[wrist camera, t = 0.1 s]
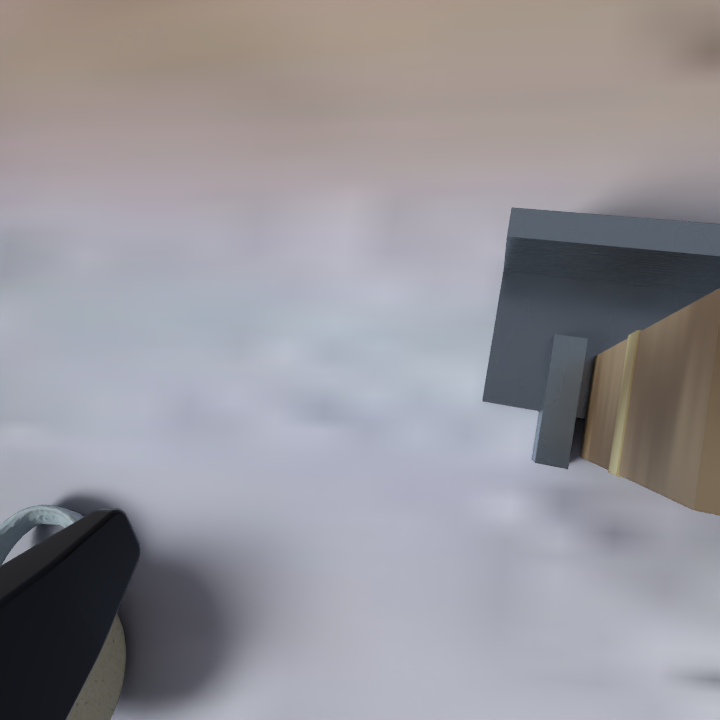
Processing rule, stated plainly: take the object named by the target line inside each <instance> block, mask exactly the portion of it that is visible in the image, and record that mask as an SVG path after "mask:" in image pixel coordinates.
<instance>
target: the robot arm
mask: <svg viewBox="0 0 720 720" xmlns="http://www.w3.org/2000/svg"><path fill="white" fill-rule="evenodd" d="M139 557H140V544H139V541H138V539H137V537H136V535H135V533H134V531H133V528H132V526H131V524H130V522H129V520H128V517H127V515H126V514H125V512H123V511H122V510H120V509H97V510H95V511H93V512H91V513H89V514H88V515H86V516H84V517H83V518H81V519H79V520H78V521H76V522H74V523H73V524H71V525H69V526H67V527H66V528H64V529H62V530H61V531H59V532H57V533H56V534H54V535H52V536H51V537H49V538H47V539H46V540H44V541H42V542H40V543H39V544H37V545H35V546H34V547H32V548H30V549H29V550H27V551H25V552H24V553H22V554H20V555H18V556H17V557H15V558H13V559H12V560H10V561H8V562H7V563H5V564H3V565H2V566H0V720H66V719H67V717H68V715H69V713H70V712H71V710H72V708H73V706H74V704H75V702H76V700H77V698H78V696H79V694H80V692H81V690H82V688H83V686H84V684H85V682H86V680H87V678H88V676H89V674H90V672H91V671H92V669H93V667H94V665H95V663H96V661H97V658H98V656H99V654H100V652H101V650H102V648H103V646H104V643H105V641H106V639H107V636H108V634H109V632H110V629H111V627H112V624H113V622H114V619H115V617H116V615H117V612H118V610H119V607H120V605H121V602H122V600H123V597H124V595H125V592H126V590H127V588H128V585H129V583H130V580H131V578H132V575H133V573H134V570H135V568H136V565H137V563H138V560H139Z"/></svg>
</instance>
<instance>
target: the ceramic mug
mask: <svg viewBox="0 0 720 720" xmlns="http://www.w3.org/2000/svg"><path fill="white" fill-rule="evenodd" d="M83 517H84V516H82V515H81V514H80V513H77V512H74V511H71V510H68V509H66V508H62V507H58V506H54V505H38V506H33V507H28V508H26V509H23V510H21V511H19V512H17V513H15V514H14V515H12V516H11V517H9V518H8V519H7V520H6V521H5V522H3V523H2V524H1V525H0V566H2V563H3V561H4V560H5V558H6V556H7V555H8V554H9V552H10V551H11V549H12V548H13V547H14V545H15V544H16V543H17V542H18V541H19V540H20V539H21V538H22V536H23V535H25V534H26V533H27V532H28V531H30V530H31V529H32V528H33V527H35V526H39V525H41V524H53V525H62V526H63V527H64V528H66V527H67V526H69V525H71V524H73V523H74V522H76V521H78V520H79V519H81V518H83ZM125 664H126V644H125V637H124V630H123V627H122V624H121V622H120V619H119V616H118V614H117V615H116V617H115V619H114V622H113V624H112V627H111V629H110V632H109V634H108V636H107V639H106V641H105V643H104V646H103V648H102V650H101V652H100V654H99V656H98V658H97V661H96V663H95V665H94V667H93V669H92V671H91V672H90V674H89V676H88V678H87V680H86V682H85V684H84V686H83V688H82V690H81V692H80V694H79V696H78V698H77V700H76V702H75V704H74V706H73V708H72V710H71V712H70V713H69V715H68V717H67V719H66V720H110V719H111V717H112V715H113V713H114V710H115V708H116V705H117V702H118V699H119V696H120V692H121V689H122V685H123V680H124V673H125Z"/></svg>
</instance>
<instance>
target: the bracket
mask: <svg viewBox="0 0 720 720" xmlns="http://www.w3.org/2000/svg"><path fill="white" fill-rule="evenodd" d="M719 288H720V224H711V223H699V222H686V221H674V220H661V219H649V218H636V217H624V216H611V215H598V214H586V213H573V212H561V211H548V210H536V209H523V208H512V209H511V215H510V222H509V228H508V234H507V242H506V252H505V262H504V272H503V278H502V284H501V290H500V297H499V303H498V309H497V315H496V321H495V327H494V333H493V340H492V346H491V352H490V358H489V364H488V370H487V376H486V382H485V389H484V395H483V401H484V402H490V403H496V404H501V405H507V406H513V407H519V408H525V409H530V410H536V411H539V416H538V423H537V429H536V435H535V442H534V448H533V454H532V460H533V461H534V462H535V463H539V464H544V465H549V466H555V467H560V468H565V469H568V466H569V459H570V453H571V446H572V439H573V433H574V426H575V420H576V417H577V418H583V419H585V415H586V408H587V402H588V395H589V389H590V382H591V375H592V369H593V362H594V357H595V356H596V355H598V354H600V353H602V352H604V351H605V350H607V349H609V348H611V347H613V346H615V345H616V344H618V343H620V342H622V341H624V340H626V339H627V338H628V335H630V334H631V333H633V332H635V331H637V330H641V331H642V330H644V329H646V328H648V327H649V326H651V325H653V324H655V323H657V322H659V321H660V320H662V319H664V318H666V317H668V316H670V315H671V314H673V313H675V312H677V311H679V310H681V309H682V308H684V307H686V306H688V305H690V304H692V303H693V302H695V301H697V300H699V299H701V298H702V297H704V296H706V295H708V294H710V293H712V292H713V291H715V290H717V289H719Z"/></svg>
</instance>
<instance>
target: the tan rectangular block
mask: <svg viewBox="0 0 720 720" xmlns="http://www.w3.org/2000/svg"><path fill="white" fill-rule="evenodd" d="M579 456H580V457H582V458H584V459H586V460H588V461H590V462H592V463H595V464H597V465H599V466H601V467H603V468H605V469H607V470H608V472H609V473H611V474H613V475H615V476H618V477H623V478H626V479H629V480H631V481H633V482H635V483H637V484H639V485H641V486H643V487H646V488H648V489H650V490H652V491H654V492H656V493H658V494H660V495H663V496H665V497H667V498H669V499H671V500H673V501H675V502H677V503H680V504H682V505H684V506H686V507H688V508H690V509H692V510H695V511H700V512H705V513H710V514H715V515H720V288H719V289H717V290H715V291H713V292H712V293H710V294H708V295H706V296H704V297H702V298H701V299H699V300H697V301H695V302H693V303H692V304H690V305H688V306H686V307H684V308H682V309H681V310H679V311H677V312H675V313H673V314H671V315H670V316H668V317H666V318H664V319H662V320H660V321H659V322H657V323H655V324H653V325H651V326H649V327H648V328H646V329H644V330H642V331H641V330H637V331H635V332H633V333H631V334H630V335H628V338H627V339H626V340H624V341H622V342H620V343H618V344H616V345H615V346H613V347H611V348H609V349H607V350H605V351H604V352H602V353H600V354H598V355H596V356H595V357H594V362H593V369H592V375H591V382H590V389H589V395H588V402H587V408H586V415H585V422H584V428H583V435H582V441H581V448H580V455H579Z"/></svg>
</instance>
